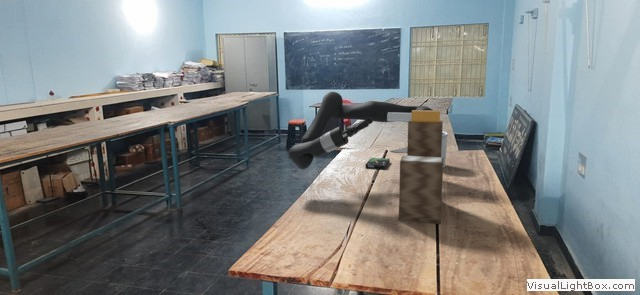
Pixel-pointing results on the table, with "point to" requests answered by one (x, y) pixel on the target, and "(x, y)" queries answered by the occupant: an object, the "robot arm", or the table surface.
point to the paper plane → (401, 150)
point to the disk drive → (377, 163)
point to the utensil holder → (444, 146)
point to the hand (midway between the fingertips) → (369, 121)
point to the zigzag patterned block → (422, 174)
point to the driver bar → (415, 116)
